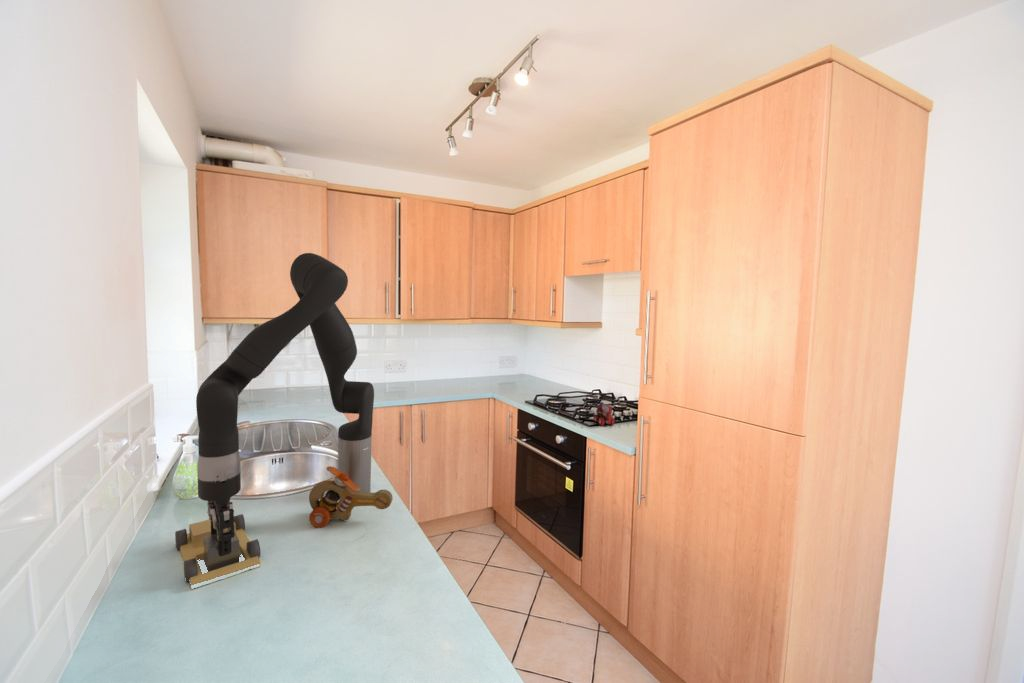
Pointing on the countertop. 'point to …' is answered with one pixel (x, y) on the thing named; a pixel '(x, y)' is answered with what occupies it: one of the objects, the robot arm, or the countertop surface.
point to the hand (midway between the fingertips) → (220, 544)
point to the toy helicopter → (341, 499)
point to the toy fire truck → (604, 414)
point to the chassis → (194, 550)
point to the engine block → (212, 556)
